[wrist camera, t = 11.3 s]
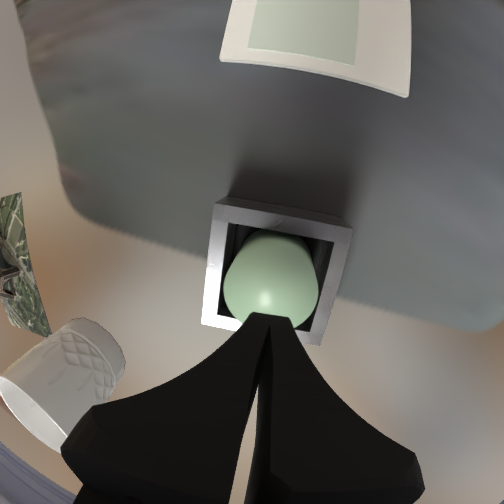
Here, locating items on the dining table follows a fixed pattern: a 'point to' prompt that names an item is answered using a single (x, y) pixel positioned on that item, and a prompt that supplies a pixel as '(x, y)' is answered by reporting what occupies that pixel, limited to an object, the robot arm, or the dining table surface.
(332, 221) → the frame
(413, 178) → the dining table surface
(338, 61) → the picture sheet
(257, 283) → the button
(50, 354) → the white cup
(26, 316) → the eiffel tower figurine
